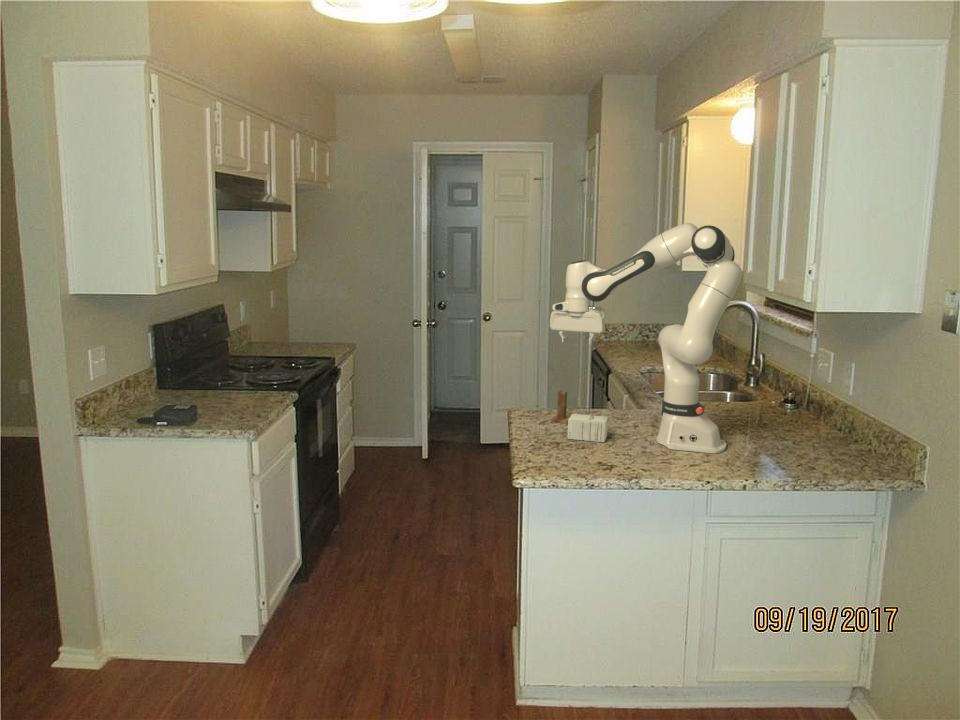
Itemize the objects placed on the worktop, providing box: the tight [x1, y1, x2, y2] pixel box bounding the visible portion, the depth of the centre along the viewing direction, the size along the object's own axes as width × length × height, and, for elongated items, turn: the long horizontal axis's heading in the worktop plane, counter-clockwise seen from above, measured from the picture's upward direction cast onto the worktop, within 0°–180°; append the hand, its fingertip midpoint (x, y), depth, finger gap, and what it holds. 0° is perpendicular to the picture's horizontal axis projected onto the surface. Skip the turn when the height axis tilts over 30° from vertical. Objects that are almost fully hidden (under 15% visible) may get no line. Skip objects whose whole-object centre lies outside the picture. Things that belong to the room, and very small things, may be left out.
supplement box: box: [567, 413, 609, 443], centre depth 254 cm, size 7×7×13 cm
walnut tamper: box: [550, 390, 570, 425], centre depth 273 cm, size 6×6×12 cm
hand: (576, 343), depth 272 cm, fingers open, 8 cm apart
